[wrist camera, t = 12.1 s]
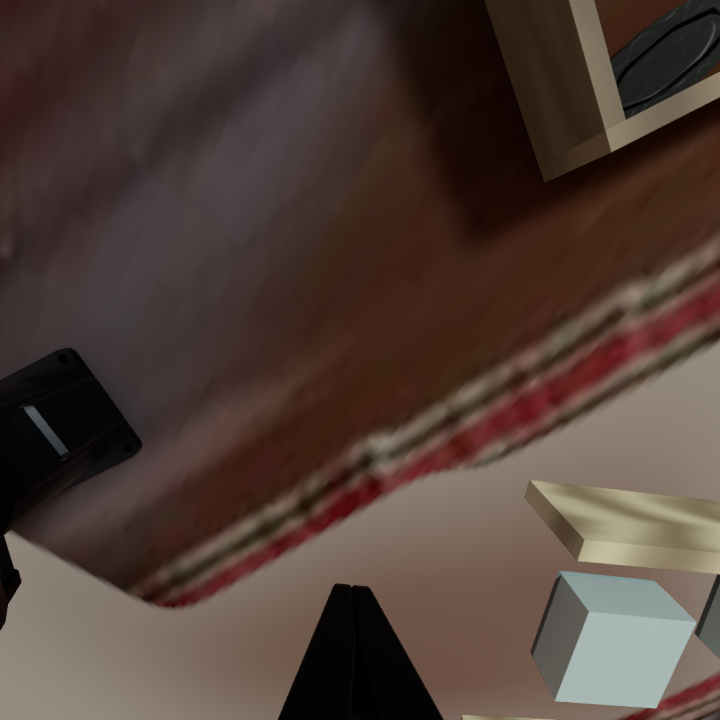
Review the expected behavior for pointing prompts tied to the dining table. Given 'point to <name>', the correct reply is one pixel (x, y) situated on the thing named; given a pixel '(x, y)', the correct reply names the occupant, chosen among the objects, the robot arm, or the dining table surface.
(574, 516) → the box
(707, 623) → the tile
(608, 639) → the tile
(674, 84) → the hairbrush
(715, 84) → the tray
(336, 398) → the dining table surface
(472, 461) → the dining table surface
